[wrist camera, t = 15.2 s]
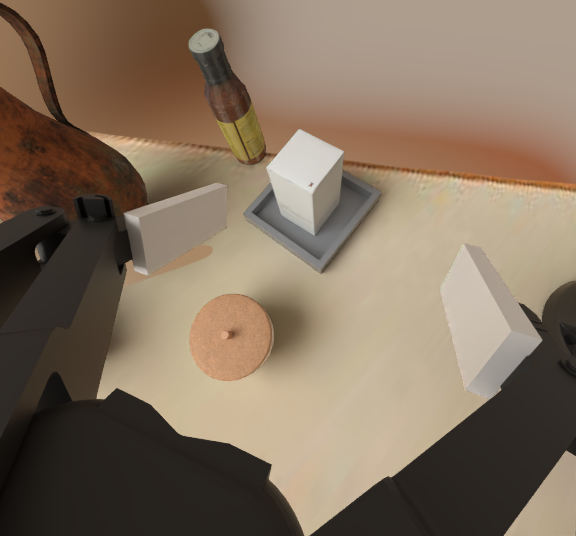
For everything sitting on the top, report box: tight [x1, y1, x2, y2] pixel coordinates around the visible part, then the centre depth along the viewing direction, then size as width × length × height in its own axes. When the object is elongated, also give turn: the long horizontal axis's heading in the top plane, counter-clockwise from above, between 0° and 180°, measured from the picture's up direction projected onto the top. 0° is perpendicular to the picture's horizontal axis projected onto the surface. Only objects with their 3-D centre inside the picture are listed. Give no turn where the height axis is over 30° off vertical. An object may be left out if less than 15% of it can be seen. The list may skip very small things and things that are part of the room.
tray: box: [243, 170, 381, 274], centre depth 45 cm, size 16×16×2 cm
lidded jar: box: [190, 294, 274, 381], centre depth 37 cm, size 11×11×9 cm
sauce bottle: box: [189, 29, 266, 164], centre depth 41 cm, size 7×6×20 cm
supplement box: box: [266, 129, 344, 236], centre depth 39 cm, size 7×7×13 cm
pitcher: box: [0, 3, 149, 222], centre depth 35 cm, size 17×21×30 cm
